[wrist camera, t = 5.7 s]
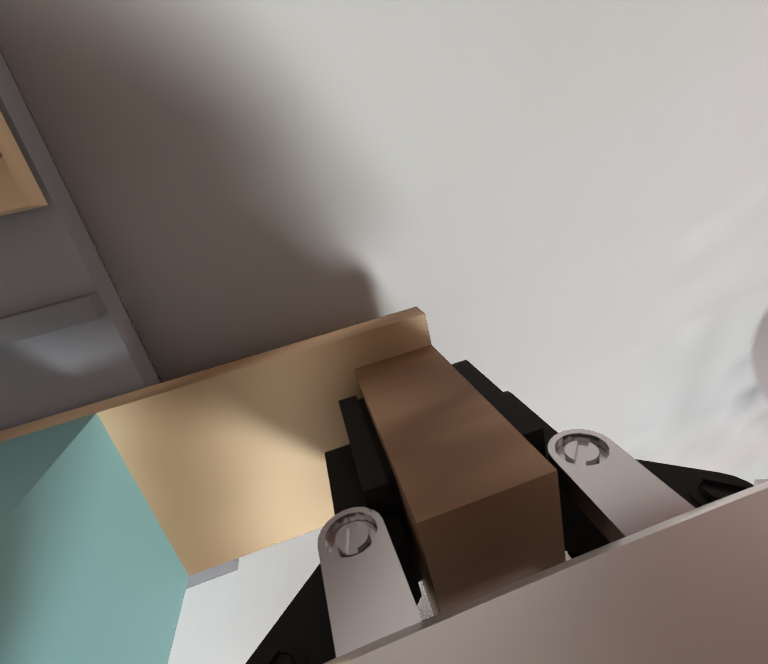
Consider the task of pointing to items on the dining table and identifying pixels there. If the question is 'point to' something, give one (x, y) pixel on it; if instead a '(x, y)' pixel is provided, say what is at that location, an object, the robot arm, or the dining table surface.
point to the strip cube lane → (327, 432)
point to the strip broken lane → (16, 177)
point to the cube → (81, 554)
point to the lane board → (60, 304)
